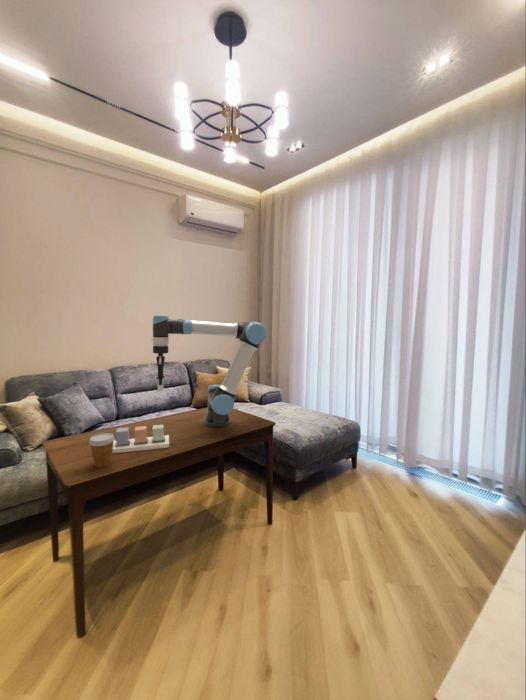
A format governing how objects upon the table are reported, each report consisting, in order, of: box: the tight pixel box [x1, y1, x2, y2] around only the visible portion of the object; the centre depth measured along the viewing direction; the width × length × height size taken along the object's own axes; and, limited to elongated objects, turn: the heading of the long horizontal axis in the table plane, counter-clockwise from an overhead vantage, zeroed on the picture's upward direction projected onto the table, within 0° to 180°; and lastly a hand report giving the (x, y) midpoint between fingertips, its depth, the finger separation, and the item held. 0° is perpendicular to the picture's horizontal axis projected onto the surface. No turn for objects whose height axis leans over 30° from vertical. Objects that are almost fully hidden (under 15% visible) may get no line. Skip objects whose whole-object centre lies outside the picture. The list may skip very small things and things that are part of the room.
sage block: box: [152, 424, 165, 441], centre depth 149 cm, size 5×5×6 cm
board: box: [112, 434, 170, 455], centre depth 147 cm, size 26×11×2 cm, turn 108°
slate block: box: [115, 427, 130, 445], centre depth 144 cm, size 5×5×6 cm
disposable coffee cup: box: [88, 432, 116, 469], centre depth 128 cm, size 10×10×12 cm
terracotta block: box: [134, 425, 148, 443], centre depth 146 cm, size 5×5×6 cm
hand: (160, 390), depth 156 cm, fingers closed
